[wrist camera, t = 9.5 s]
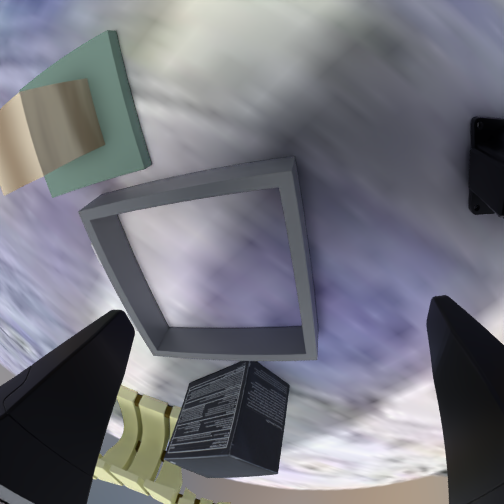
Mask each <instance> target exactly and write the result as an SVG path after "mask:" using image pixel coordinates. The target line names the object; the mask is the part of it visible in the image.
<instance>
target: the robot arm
mask: <svg viewBox="0 0 504 504" xmlns="http://www.w3.org/2000/svg"><path fill="white" fill-rule="evenodd" d="M478 122H480V127H479V128H478V127H477V123H478ZM471 139H472V149H471V150H470V169H469V188H470V197H469V209H470V211H471V212H472V213H473V214H475V215H478V214H494V213H496V214H497V215H498V216H499V217H502V218H503V219H504V119H501V118H490V117H474V118H473V119H472V121H471ZM475 205H477V207H476V208H475V209H474V206H475ZM427 333H428V340H429V347H430V355H431V363H432V372H433V379H434V384H435V389H436V394H437V400H438V405H439V411H440V416H441V423H442V429H443V436H444V444H445V452H446V462H447V473H448V488H449V504H504V345H503V344H502V343H501V342H500V341H499V340H498V339H496V338H495V337H494V336H493V335H492V334H491V333H490V332H489V331H488V330H487V329H486V328H484V327H483V326H482V325H481V324H480V323H479V322H478V321H477V320H475V319H474V318H473V317H472V316H471V315H470V314H468V313H467V312H466V311H465V310H464V309H463V308H461V307H460V306H459V305H458V304H457V303H456V302H454V301H453V300H452V299H451V298H450V297H448V296H446V295H442V296H435V297H433V298H432V299H431V303H430V308H429V312H428V317H427ZM134 336H135V330H134V327H133V326H132V324H131V322H130V320H129V319H128V317H127V315H126V314H125V312H124V311H122V310H111V311H109V312H108V313H106V314H105V315H103V316H102V317H100V318H99V319H97V320H96V321H94V322H93V323H91V324H90V325H89V326H87V327H86V328H84V329H83V330H81V331H80V332H78V333H77V334H75V335H74V336H72V337H71V338H70V339H68V340H67V341H65V342H64V343H62V344H61V345H59V346H58V347H57V348H55V349H54V350H52V351H51V352H49V353H48V354H47V355H45V356H44V357H42V358H41V359H39V360H38V361H37V362H35V363H34V364H33V365H32V366H30V367H28V368H27V369H25V370H24V371H22V372H21V373H20V374H18V375H17V376H15V377H14V378H12V379H11V380H9V381H8V382H6V383H5V384H3V385H1V386H0V504H87V500H88V496H89V492H90V488H91V484H92V480H93V475H94V471H95V468H96V464H97V460H98V457H99V453H100V450H101V446H102V443H103V439H104V436H105V433H106V429H107V426H108V423H109V420H110V417H111V413H112V410H113V407H114V404H115V401H116V398H117V395H118V392H119V389H120V386H121V383H122V380H123V377H124V374H125V370H126V367H127V363H128V359H129V355H130V351H131V347H132V343H133V339H134Z"/></svg>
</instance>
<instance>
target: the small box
mask: <svg viewBox="0 0 504 504" xmlns="http://www.w3.org/2000/svg"><path fill="white" fill-rule="evenodd" d="M288 394H289V385H288V384H287V383H285V382H284V381H283V380H281V379H280V378H278V377H277V376H276V375H274V374H273V373H271V372H270V371H269V370H267V369H266V368H264V367H263V366H262V365H260V364H259V363H258V362H256V361H242V362H240V363H237V364H235V365H233V366H231V367H228V368H226V369H224V370H221V371H219V372H216V373H214V374H212V375H209V376H207V377H204V378H202V379H199V380H197V381H194V382H192V383H190V384H189V386H188V390H187V393H186V396H185V399H184V402H183V405H182V408H181V411H180V414H179V417H178V420H177V422H176V425H175V428H174V431H173V433H172V436H171V439H170V442H169V445H168V448H167V451H166V454H165V457H164V460H165V461H168V462H170V463H172V464H175V465H177V466H179V467H181V468H184V469H186V470H189V471H191V472H194V473H196V474H199V475H202V476H204V477H207V478H230V477H250V476H263V475H273V474H278V469H279V462H280V455H281V447H282V440H283V433H284V426H285V418H286V410H287V402H288Z"/></svg>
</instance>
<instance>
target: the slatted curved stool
mask: <svg viewBox="0 0 504 504" xmlns="http://www.w3.org/2000/svg"><path fill="white" fill-rule="evenodd" d="M117 400H118V403H119V406H120V409H121V412H122V416H123V421H124V431H123V435H122V437H121V438H120V440H119V441H118V442H117V443H116V444H115V445H114V446H113V447H112V448H110V449H109V450H108V451H107V452H106V454H105V455H104V456H102V455H101V454H99V457H98V460H97V464H96V468H95V471H94V475H93V479H97V478H99V479H100V480H103V481H107V482H111V483H114V484H117V485H121V486H123V485H125V486H126V487H128V488H130V489H133V490H135V491H138V492H141V493H143V494H145V495H147V496H148V495H151V496H152V497H153V498H154V499H156V500H158V501H160V502H162V503H164V504H214V503H213V501H211V500H207V499H204V498H201V500H198V499H195V497H196V495H195V494H193V493H192V492H190V491H189V490H188V489H187V488H186V489H185V491H184V494H183V495H182V494H179V492H180V489H181V486H182V473H181V467H179V466H177V465H175V464H172V463H170V462H168V461H165V460H164V457H165V454H166V451H165V450H166V447H167V444H168V440H169V435H170V439H171V436H172V433H173V431H174V428H175V425H176V422H177V420H178V417H179V414H180V411H181V408H180V407H177V406H173V407H170V406H168V403H165V402H163V401H160V400H157V399H154V398H152V397H149V396H146V395H144V394H143V396H141V395H138V392H136V391H134V390H131V389H129V388H127V387H124V386H122V385H121V386H120V389H119V392H118V395H117ZM169 419H170V428H169ZM169 442H170V441H169ZM136 454H137V455H136ZM135 456H136V457H135ZM161 461H162V462H164V463H163V466H162V468H161V471H160V473H159V476H158V478H157V479H156V481H155V482H154V480H155V478H156V475H157V472H158V470H159V467H160V464H161ZM217 504H231V502H218V503H217Z"/></svg>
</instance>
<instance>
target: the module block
mask: <svg viewBox="0 0 504 504" xmlns="http://www.w3.org/2000/svg"><path fill="white" fill-rule="evenodd" d="M104 145H105V142H104V139H103V135H102V132H101V129H100V125H99V122H98V118H97V115H96V111H95V107H94V104H93V100H92V96H91V92H90V88H89V84H88V80H87V78H86V79H79V80H73V81H67V82H62V83H57V84H52V85H47V86H42V87H38V88H34V89H29V90H25V91H21V92H19V93H18V94H17V95H15V96H14V97H13V98H12V99H11V100H10V101H9V102H7V103H6V104H5V105H4V106H3V107H2V108H1V109H0V186H1V189H2V192H3V194H4V196H5V195H7V194H9V193H11V192H13V191H14V190H16V189H18V188H20V187H22V186H24V185H26V184H28V183H30V182H32V181H35V180H37V179H39V178H41V177H43V176H45V175H47V174H48V173H50V172H52V171H54V170H56V169H58V168H59V167H61V166H63V165H65V164H67V163H69V162H71V161H73V160H75V159H77V158H79V157H81V156H83V155H85V154H87V153H89V152H91V151H93V150H95V149H97V148H99V147H101V146H104Z"/></svg>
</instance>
